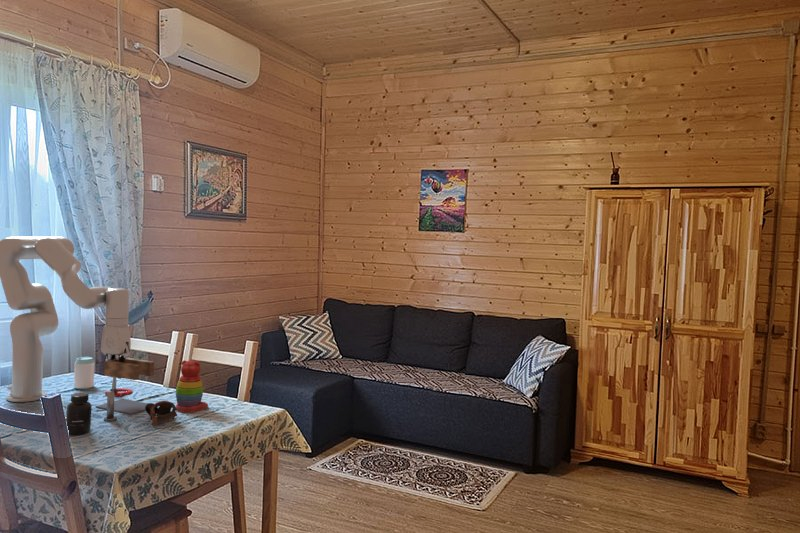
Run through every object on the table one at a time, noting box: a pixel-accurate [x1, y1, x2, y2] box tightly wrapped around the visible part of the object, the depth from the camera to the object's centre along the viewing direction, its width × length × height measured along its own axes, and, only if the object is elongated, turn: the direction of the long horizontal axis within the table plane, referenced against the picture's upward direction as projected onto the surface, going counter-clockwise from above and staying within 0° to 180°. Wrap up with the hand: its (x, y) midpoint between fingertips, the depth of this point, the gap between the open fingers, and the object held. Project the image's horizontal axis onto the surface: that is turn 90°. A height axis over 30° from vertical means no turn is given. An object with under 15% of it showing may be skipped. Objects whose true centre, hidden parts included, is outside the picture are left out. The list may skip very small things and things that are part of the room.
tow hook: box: [104, 377, 133, 397], centre depth 231 cm, size 8×13×9 cm
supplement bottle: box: [65, 392, 92, 436], centre depth 184 cm, size 7×7×12 cm
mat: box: [95, 398, 149, 416], centre depth 213 cm, size 17×12×1 cm
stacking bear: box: [175, 360, 209, 413], centre depth 214 cm, size 11×10×18 cm
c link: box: [103, 357, 155, 381], centre depth 212 cm, size 14×9×5 cm, turn 68°
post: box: [103, 390, 117, 422], centre depth 197 cm, size 4×4×10 cm
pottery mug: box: [145, 400, 178, 427], centre depth 197 cm, size 12×10×8 cm
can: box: [73, 356, 95, 390], centre depth 236 cm, size 7×7×12 cm
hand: (115, 372), depth 214 cm, fingers closed on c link
